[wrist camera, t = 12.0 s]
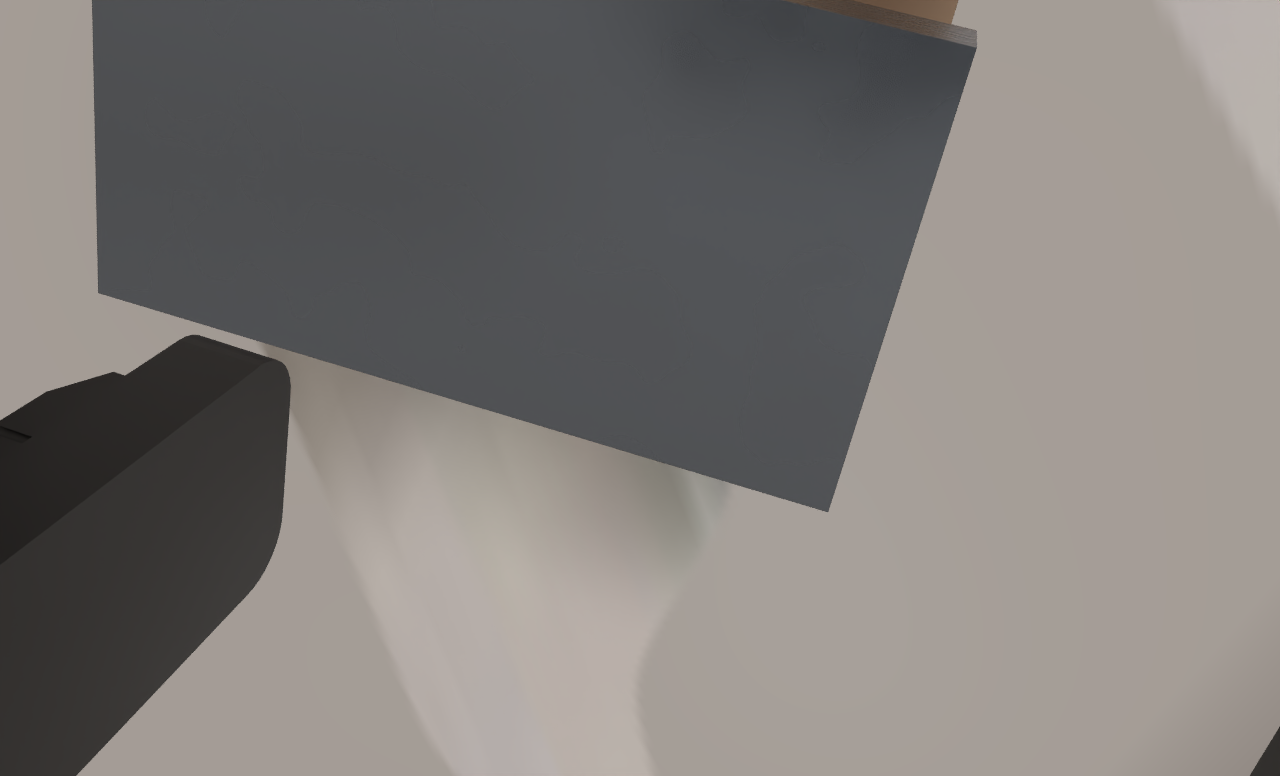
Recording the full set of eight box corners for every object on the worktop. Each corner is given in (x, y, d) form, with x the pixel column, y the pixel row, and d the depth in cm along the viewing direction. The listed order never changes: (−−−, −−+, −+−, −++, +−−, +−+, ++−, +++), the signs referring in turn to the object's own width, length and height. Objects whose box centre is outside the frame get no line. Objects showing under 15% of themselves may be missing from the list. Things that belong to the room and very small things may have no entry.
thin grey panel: (976, -73, 34) (976, 47, 17) (894, 194, 38) (827, 512, 21) (509, -181, 36) (88, -171, 19) (475, 84, 40) (98, 293, 23)
